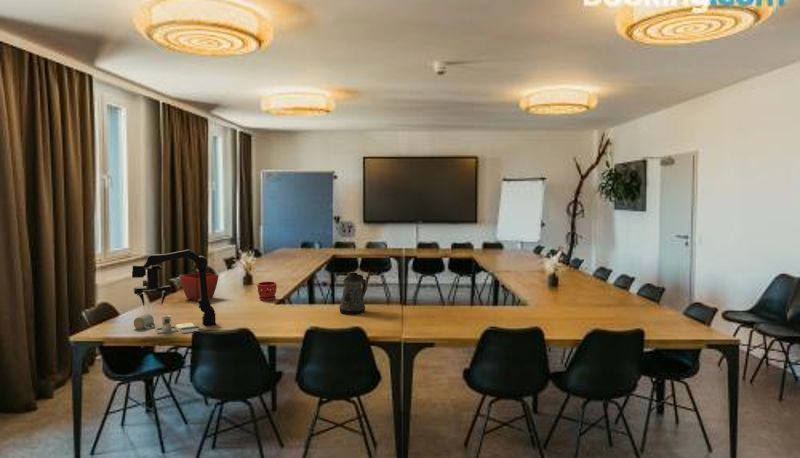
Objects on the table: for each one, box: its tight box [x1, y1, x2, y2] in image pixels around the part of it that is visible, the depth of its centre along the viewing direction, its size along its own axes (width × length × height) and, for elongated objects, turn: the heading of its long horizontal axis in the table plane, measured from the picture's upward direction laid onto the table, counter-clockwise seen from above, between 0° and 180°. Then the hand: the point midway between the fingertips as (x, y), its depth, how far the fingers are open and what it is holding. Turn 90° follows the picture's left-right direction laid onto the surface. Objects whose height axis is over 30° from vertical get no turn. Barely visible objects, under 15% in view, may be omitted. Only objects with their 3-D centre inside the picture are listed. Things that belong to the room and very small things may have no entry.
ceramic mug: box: [133, 313, 156, 330], centre depth 302 cm, size 11×8×8 cm
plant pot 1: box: [179, 272, 220, 302], centre depth 384 cm, size 19×19×17 cm
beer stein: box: [338, 272, 368, 316], centre depth 345 cm, size 16×19×25 cm
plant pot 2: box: [256, 281, 277, 302], centre depth 381 cm, size 13×13×12 cm
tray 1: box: [154, 325, 179, 335], centre depth 296 cm, size 10×10×1 cm
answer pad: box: [175, 322, 195, 329], centre depth 307 cm, size 9×9×1 cm
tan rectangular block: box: [161, 314, 172, 332], centre depth 296 cm, size 4×4×8 cm
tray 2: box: [179, 325, 202, 335], centre depth 297 cm, size 10×10×1 cm
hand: (152, 305), depth 300 cm, fingers open, 9 cm apart
